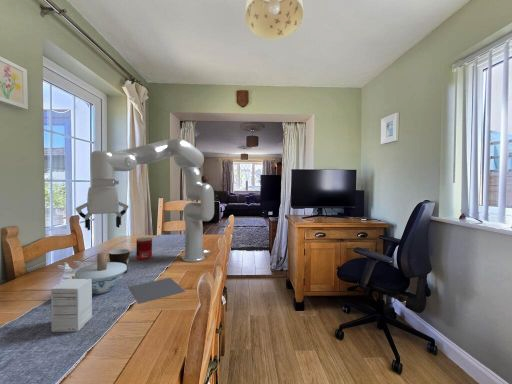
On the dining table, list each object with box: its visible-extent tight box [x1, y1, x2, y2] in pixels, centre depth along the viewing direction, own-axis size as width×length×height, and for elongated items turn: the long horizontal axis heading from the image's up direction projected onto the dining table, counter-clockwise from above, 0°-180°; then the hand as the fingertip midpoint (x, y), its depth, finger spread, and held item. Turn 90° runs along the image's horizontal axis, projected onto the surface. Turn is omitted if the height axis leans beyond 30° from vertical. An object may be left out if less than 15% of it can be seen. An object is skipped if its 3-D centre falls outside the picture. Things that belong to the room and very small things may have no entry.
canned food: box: [135, 236, 153, 261], centre depth 139 cm, size 8×8×11 cm
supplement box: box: [50, 278, 93, 333], centre depth 74 cm, size 7×7×13 cm
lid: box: [74, 252, 128, 280], centre depth 96 cm, size 17×17×7 cm
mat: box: [128, 277, 187, 304], centre depth 99 cm, size 17×17×1 cm
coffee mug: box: [108, 248, 131, 275], centre depth 118 cm, size 12×9×10 cm
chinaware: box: [92, 273, 124, 295], centre depth 97 cm, size 15×15×8 cm
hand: (103, 228), depth 96 cm, fingers open, 9 cm apart
